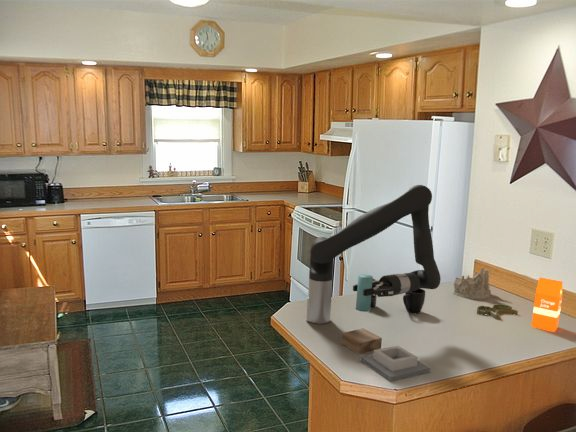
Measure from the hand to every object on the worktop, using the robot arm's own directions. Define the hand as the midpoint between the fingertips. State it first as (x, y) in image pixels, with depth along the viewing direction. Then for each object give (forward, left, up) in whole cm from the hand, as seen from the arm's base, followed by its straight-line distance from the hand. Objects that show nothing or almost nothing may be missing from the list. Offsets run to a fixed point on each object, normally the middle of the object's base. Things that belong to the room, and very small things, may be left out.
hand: (358, 290), depth 192 cm
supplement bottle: (+5, +46, -21) cm, 51 cm away
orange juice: (+76, +38, -21) cm, 88 cm away
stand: (+2, +2, -21) cm, 21 cm away
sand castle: (+55, +76, -21) cm, 96 cm away
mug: (+23, +42, -21) cm, 53 cm away
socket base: (+13, -13, -21) cm, 28 cm away
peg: (+2, +2, -7) cm, 8 cm away
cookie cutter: (+60, +51, -22) cm, 82 cm away
